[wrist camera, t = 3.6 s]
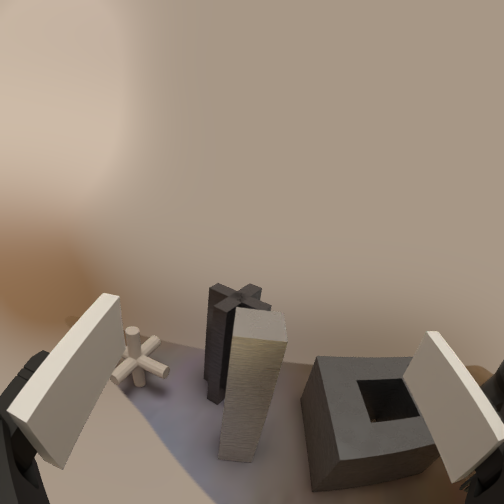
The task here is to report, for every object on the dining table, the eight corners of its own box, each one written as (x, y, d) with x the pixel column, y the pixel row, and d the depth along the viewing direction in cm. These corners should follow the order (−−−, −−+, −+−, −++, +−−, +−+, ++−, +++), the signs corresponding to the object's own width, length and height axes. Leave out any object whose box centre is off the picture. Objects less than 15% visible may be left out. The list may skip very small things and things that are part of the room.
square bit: (252, 437, 31) (283, 312, 24) (251, 462, 27) (287, 341, 20) (220, 434, 31) (236, 306, 24) (217, 459, 27) (232, 335, 20)
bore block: (391, 396, 38) (414, 356, 35) (421, 472, 23) (459, 435, 20) (300, 399, 38) (316, 356, 35) (312, 491, 23) (340, 460, 20)
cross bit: (262, 384, 40) (282, 296, 35) (234, 414, 34) (250, 323, 28) (221, 363, 44) (231, 275, 38) (191, 388, 37) (193, 296, 32)
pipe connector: (133, 352, 42) (127, 301, 39) (184, 376, 40) (184, 325, 36) (94, 386, 33) (79, 334, 30) (149, 419, 30) (139, 368, 27)
